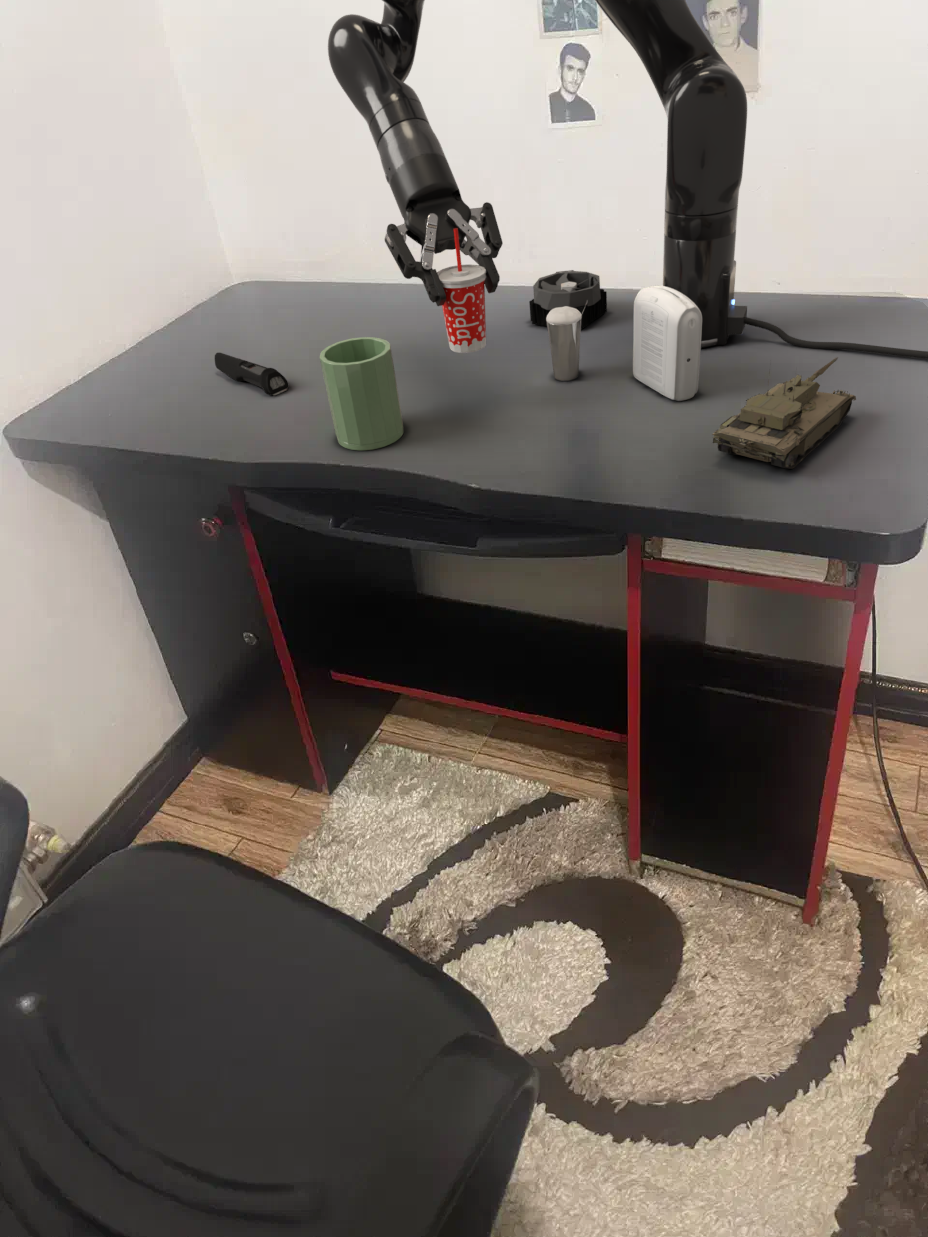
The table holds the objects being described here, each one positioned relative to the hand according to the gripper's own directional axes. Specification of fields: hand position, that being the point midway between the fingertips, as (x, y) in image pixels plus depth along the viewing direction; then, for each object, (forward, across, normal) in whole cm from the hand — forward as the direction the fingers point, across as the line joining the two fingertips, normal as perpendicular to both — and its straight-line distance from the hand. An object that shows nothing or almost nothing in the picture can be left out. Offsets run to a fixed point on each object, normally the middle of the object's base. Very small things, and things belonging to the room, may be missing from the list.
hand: (468, 295), depth 109 cm
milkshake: (+9, +14, +11) cm, 20 cm away
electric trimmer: (-10, -23, +31) cm, 40 cm away
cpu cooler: (-4, +25, +25) cm, 35 cm away
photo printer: (+17, +22, +4) cm, 28 cm away
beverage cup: (+4, 0, +6) cm, 7 cm away
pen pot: (+9, -14, +11) cm, 21 cm away
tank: (+30, +25, -10) cm, 41 cm away
